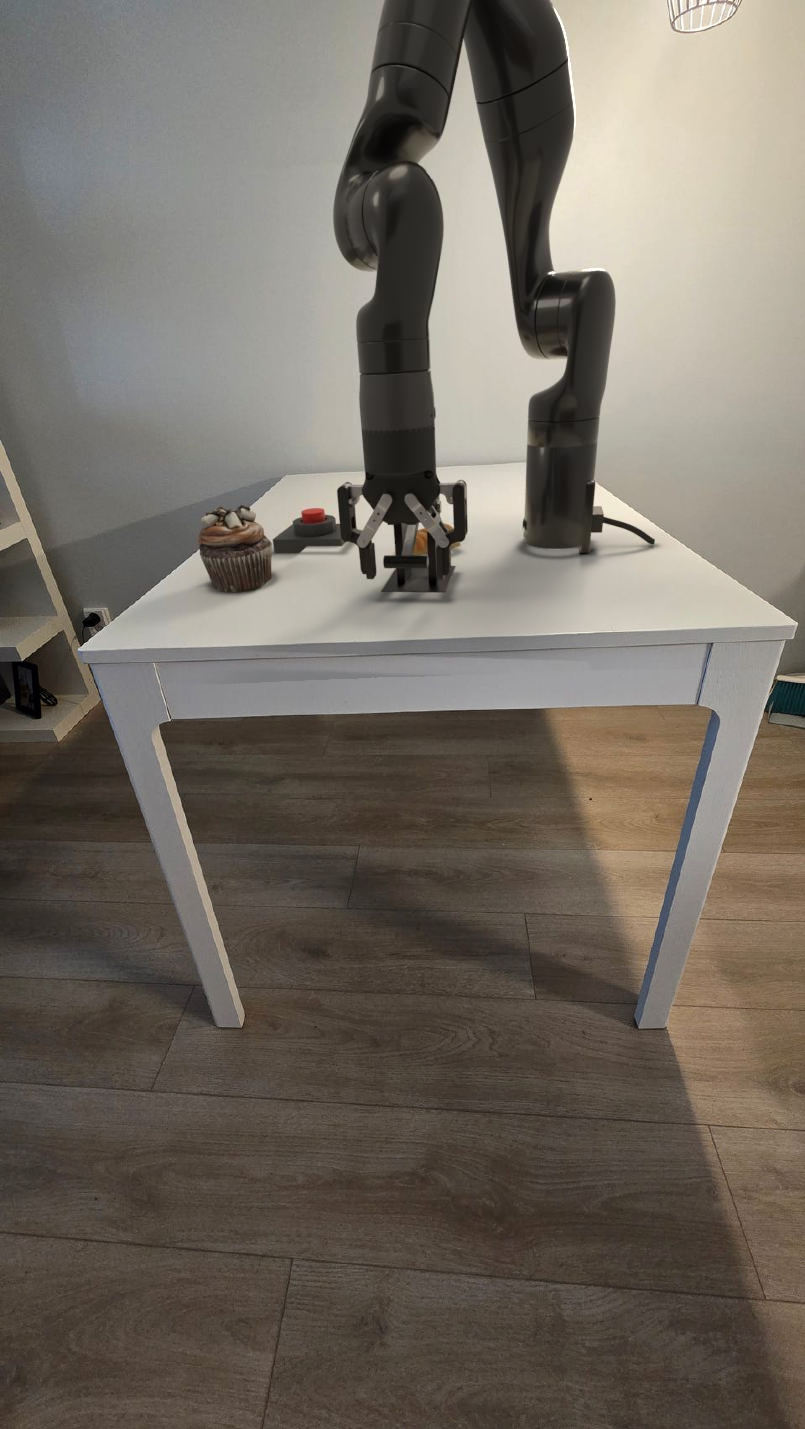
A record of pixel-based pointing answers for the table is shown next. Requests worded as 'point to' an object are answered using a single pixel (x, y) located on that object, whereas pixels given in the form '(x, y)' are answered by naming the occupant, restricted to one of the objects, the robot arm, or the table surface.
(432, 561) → the bracket
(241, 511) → the cupcake
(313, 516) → the button
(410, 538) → the lever
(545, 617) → the table surface
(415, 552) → the pastry
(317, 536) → the control block
